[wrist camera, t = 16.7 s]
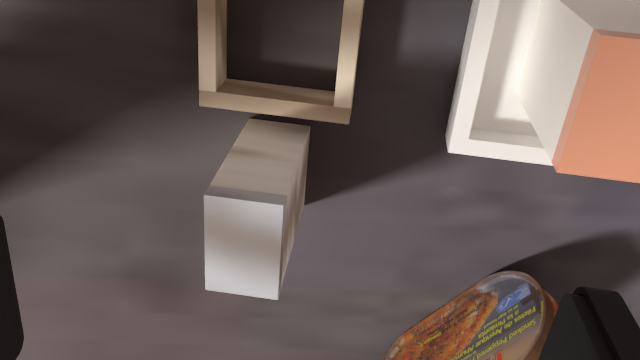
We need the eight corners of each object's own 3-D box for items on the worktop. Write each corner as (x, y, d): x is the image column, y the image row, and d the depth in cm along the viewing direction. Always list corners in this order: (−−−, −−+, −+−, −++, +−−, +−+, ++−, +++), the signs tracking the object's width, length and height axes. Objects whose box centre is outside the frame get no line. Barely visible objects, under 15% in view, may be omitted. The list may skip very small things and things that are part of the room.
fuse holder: (339, 210, 40) (323, 306, 31) (211, 193, 41) (160, 283, 32) (394, -256, 28) (392, -312, 19) (208, -271, 28) (122, -332, 19)
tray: (624, 157, 36) (639, 176, 34) (445, 135, 37) (448, 152, 34) (710, -71, 30) (734, -66, 28) (491, -93, 30) (498, -89, 28)
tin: (525, 248, 40) (554, 335, 33) (554, 276, 41) (589, 367, 33) (369, 354, 46) (363, 447, 39) (396, 376, 47) (396, 471, 40)
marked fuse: (586, 101, 34) (651, 184, 25) (516, 93, 34) (556, 172, 25) (620, -5, 31) (708, 47, 22) (544, -13, 31) (600, 34, 22)
